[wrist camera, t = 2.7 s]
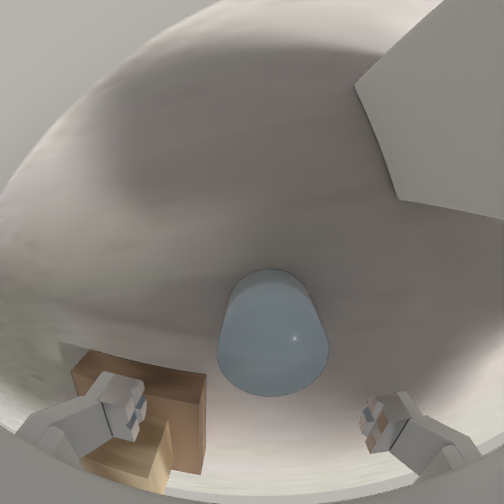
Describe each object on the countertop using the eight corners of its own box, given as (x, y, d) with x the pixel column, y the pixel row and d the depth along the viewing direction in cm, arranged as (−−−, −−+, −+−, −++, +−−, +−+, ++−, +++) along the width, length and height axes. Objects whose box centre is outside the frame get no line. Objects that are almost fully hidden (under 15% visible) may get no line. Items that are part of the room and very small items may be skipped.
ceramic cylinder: (316, 273, 16) (340, 310, 11) (302, 345, 17) (315, 398, 12) (231, 264, 16) (219, 299, 11) (225, 338, 17) (214, 391, 12)
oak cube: (168, 419, 15) (147, 478, 10) (173, 458, 16) (159, 509, 11) (100, 400, 15) (68, 450, 10) (114, 442, 16) (92, 487, 11)
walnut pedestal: (206, 375, 18) (198, 404, 15) (205, 448, 20) (200, 474, 17) (90, 349, 18) (70, 371, 15) (110, 426, 20) (98, 448, 17)
